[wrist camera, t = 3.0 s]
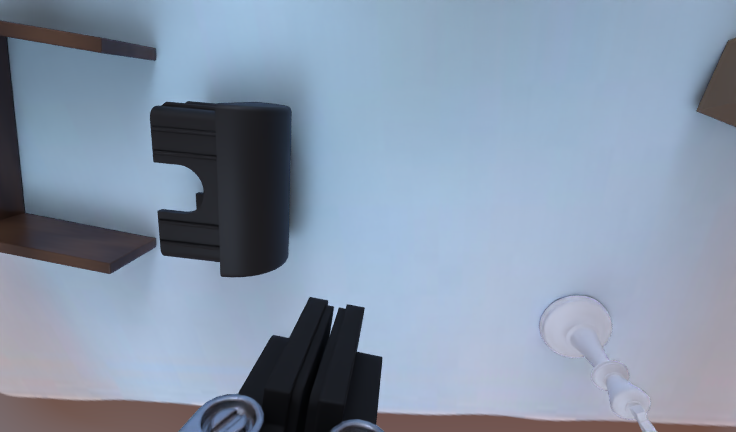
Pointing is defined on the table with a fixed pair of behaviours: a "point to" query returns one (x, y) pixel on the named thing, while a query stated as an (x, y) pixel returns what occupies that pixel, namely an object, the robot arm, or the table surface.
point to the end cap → (228, 183)
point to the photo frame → (722, 88)
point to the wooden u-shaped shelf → (4, 186)
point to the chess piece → (594, 352)
